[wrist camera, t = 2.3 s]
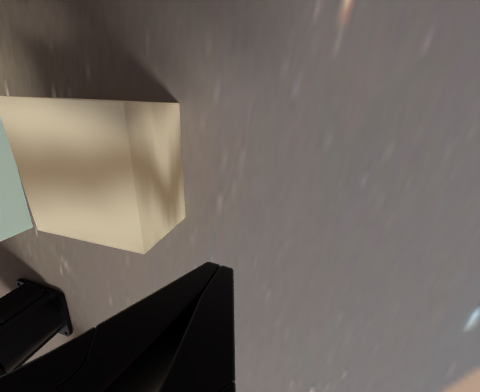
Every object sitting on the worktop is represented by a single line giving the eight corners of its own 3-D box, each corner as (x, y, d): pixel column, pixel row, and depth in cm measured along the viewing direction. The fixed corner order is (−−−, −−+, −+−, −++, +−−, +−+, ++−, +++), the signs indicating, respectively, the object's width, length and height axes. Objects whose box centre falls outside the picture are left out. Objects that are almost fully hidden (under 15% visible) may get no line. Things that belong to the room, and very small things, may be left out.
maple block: (186, 216, 18) (144, 254, 13) (100, 201, 20) (37, 230, 15) (180, 103, 15) (123, 102, 10) (79, 98, 17) (-7, 95, 12)
